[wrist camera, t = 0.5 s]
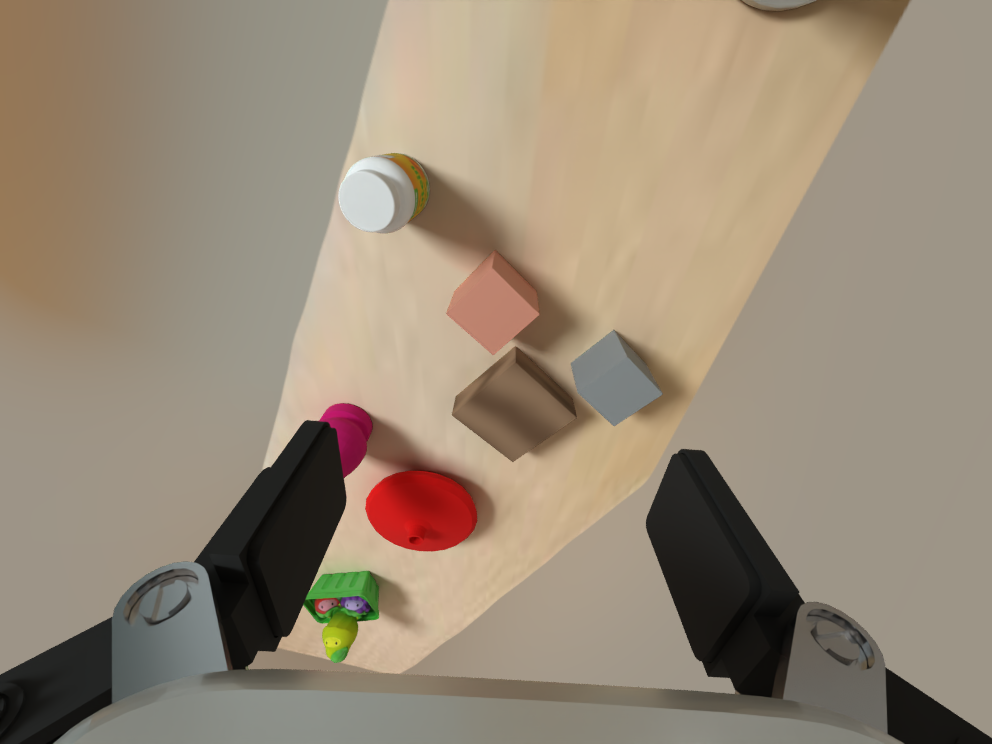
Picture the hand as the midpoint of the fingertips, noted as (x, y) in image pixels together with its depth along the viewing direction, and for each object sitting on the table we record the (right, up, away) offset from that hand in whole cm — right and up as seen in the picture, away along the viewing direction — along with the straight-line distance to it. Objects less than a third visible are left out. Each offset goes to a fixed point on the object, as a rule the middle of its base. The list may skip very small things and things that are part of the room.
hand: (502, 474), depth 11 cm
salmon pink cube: (0, +11, +29) cm, 32 cm away
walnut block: (+2, 0, +37) cm, 37 cm away
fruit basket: (-26, -35, +59) cm, 73 cm away
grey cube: (+13, +4, +33) cm, 36 cm away
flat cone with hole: (-11, -16, +47) cm, 50 cm away
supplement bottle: (-9, +20, +25) cm, 33 cm away
